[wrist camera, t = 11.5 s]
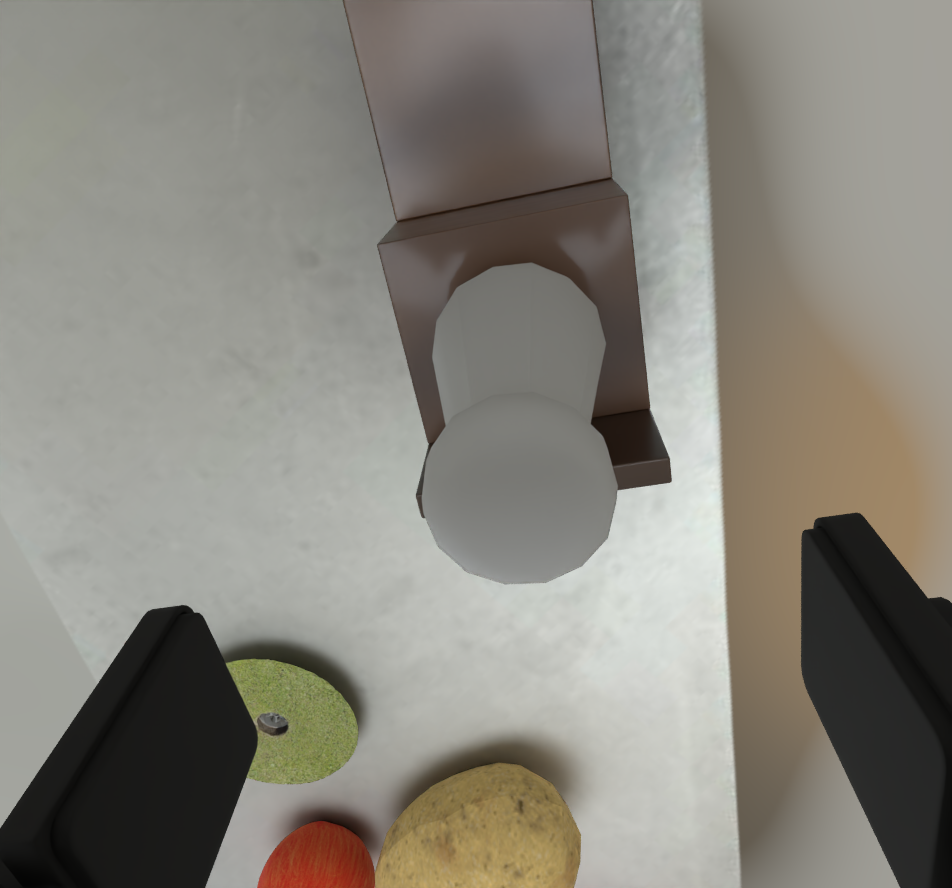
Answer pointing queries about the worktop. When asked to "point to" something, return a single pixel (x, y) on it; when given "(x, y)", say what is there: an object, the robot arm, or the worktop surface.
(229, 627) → the worktop surface
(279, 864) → the apple
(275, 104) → the worktop surface
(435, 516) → the salt shaker
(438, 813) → the potato
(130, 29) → the worktop surface
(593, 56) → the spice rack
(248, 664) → the mat
